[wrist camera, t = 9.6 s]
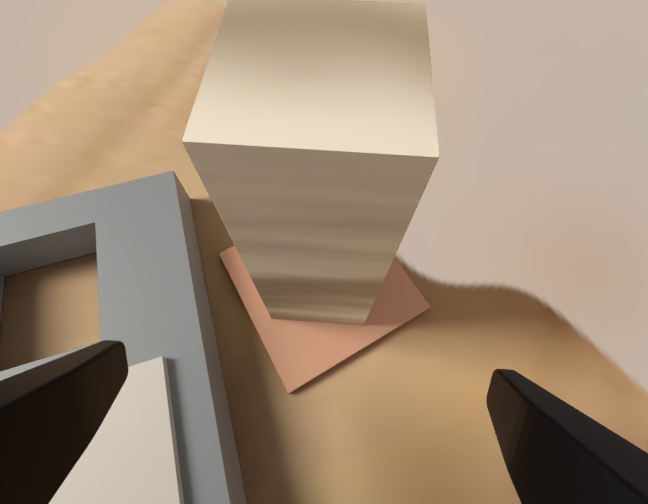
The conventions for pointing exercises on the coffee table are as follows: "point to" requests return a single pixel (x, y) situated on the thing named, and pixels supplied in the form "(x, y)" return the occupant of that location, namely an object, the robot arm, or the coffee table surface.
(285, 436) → the coffee table surface
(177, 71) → the coffee table surface
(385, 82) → the block
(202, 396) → the puzzle board
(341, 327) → the pad
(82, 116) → the coffee table surface
